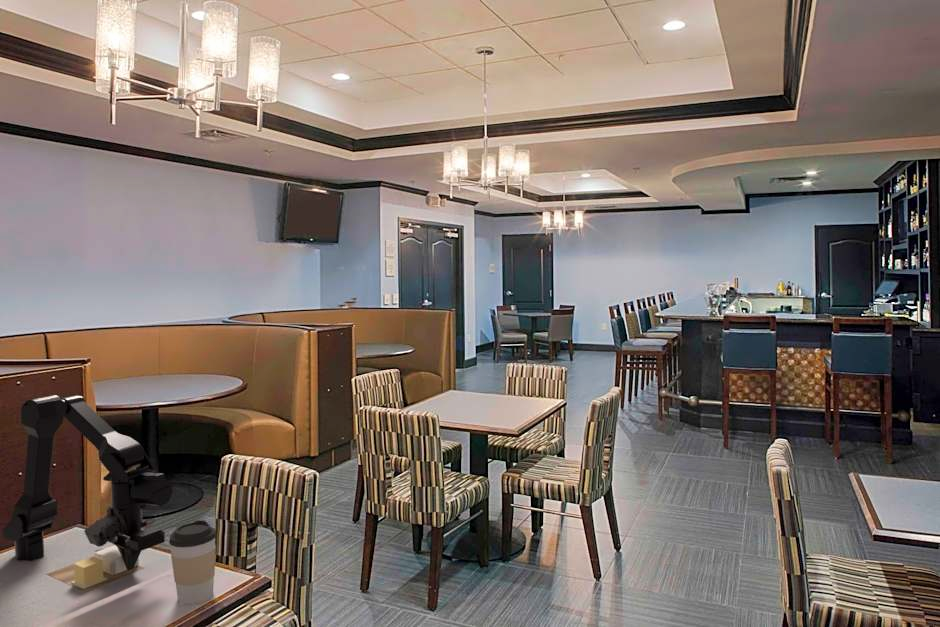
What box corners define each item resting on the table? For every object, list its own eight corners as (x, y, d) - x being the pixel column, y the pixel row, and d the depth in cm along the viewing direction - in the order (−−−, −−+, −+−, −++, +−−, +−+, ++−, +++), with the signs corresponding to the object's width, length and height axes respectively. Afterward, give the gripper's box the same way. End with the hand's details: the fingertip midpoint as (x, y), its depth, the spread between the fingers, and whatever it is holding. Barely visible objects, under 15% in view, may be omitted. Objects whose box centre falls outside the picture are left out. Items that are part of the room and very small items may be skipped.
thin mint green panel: (71, 583, 143) (71, 582, 143) (94, 574, 147) (94, 572, 147) (83, 589, 140) (83, 587, 140) (107, 579, 145) (107, 578, 145)
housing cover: (95, 568, 150) (94, 552, 150) (121, 558, 155) (120, 543, 155) (112, 575, 146) (111, 559, 146) (138, 564, 151) (137, 549, 151)
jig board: (46, 578, 148) (45, 563, 148) (104, 556, 159) (104, 542, 159) (85, 596, 139) (84, 580, 139) (144, 572, 150) (143, 557, 150)
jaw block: (74, 581, 143) (73, 563, 143) (93, 574, 147) (92, 556, 146) (84, 586, 141) (83, 567, 141) (103, 578, 145) (102, 560, 144)
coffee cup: (202, 609, 133) (198, 536, 132) (162, 605, 135) (158, 533, 134) (227, 587, 142) (224, 519, 141) (189, 584, 144) (186, 516, 143)
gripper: (66, 504, 145) (70, 573, 146) (114, 520, 135) (118, 595, 136) (116, 489, 154) (120, 554, 155) (165, 504, 144) (168, 573, 145)
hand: (130, 569), depth 148 cm, fingers closed
